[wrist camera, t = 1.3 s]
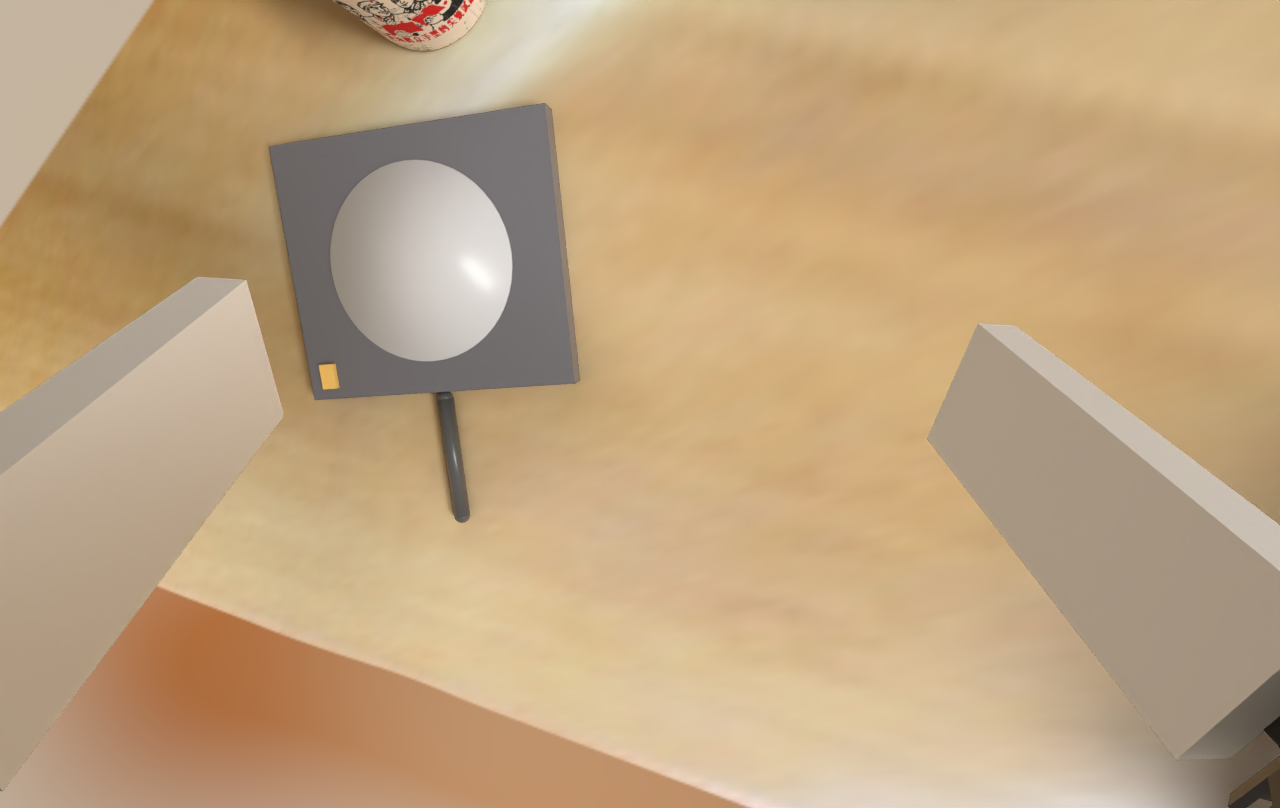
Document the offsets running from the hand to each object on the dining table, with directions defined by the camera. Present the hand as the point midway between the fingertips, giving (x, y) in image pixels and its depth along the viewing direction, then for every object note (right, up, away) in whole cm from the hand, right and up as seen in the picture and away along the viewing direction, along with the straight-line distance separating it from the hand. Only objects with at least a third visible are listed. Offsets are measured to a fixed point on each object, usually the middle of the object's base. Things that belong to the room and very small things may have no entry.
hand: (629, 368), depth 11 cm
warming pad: (-13, +4, +27) cm, 30 cm away
